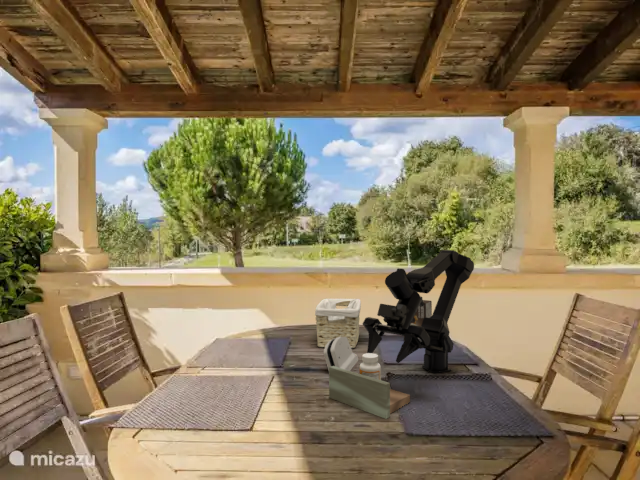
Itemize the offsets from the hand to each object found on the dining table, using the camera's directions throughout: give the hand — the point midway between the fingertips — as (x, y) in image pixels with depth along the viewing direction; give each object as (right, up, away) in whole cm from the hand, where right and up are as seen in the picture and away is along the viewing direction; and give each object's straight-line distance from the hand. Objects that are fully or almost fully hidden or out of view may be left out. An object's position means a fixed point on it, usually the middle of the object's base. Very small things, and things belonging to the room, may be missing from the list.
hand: (382, 358), depth 115 cm
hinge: (-10, -9, +24) cm, 27 cm away
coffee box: (+20, -8, +49) cm, 54 cm away
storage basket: (-9, -8, +54) cm, 55 cm away
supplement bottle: (-4, -8, -3) cm, 9 cm away
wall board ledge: (-4, -10, -3) cm, 11 cm away
